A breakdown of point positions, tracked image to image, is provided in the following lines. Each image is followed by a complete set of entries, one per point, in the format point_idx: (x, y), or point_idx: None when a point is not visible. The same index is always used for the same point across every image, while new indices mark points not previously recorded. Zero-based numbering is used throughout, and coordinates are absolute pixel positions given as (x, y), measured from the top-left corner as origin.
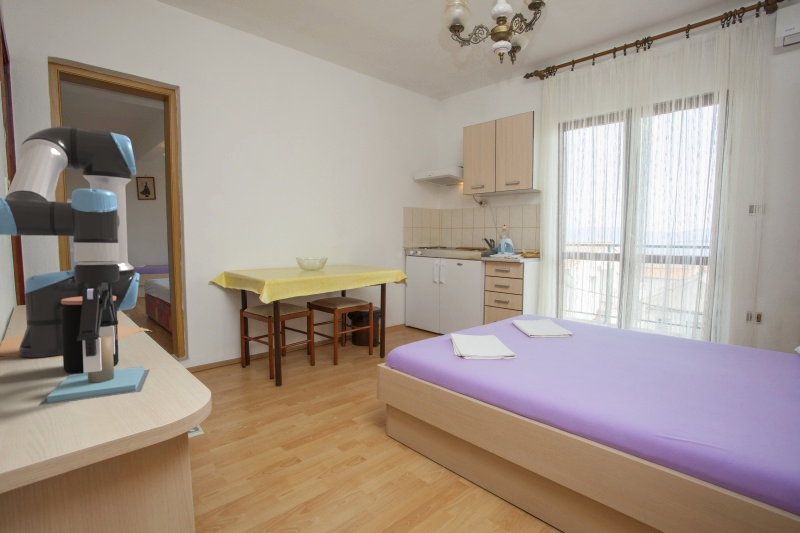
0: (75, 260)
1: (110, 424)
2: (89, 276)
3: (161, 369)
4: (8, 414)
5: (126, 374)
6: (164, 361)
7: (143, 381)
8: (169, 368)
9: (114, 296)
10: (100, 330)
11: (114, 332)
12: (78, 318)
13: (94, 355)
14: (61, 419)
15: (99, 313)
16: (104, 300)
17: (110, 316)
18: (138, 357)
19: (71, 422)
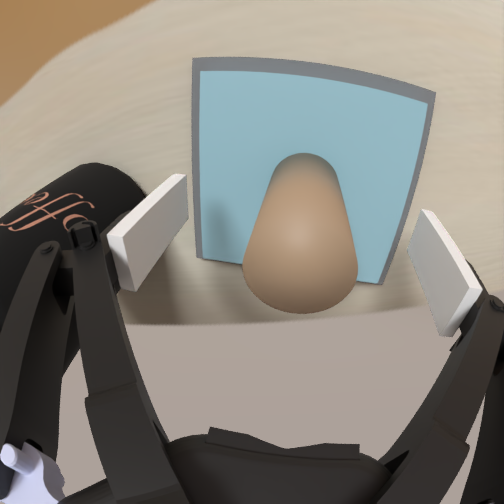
0: None
1: None
2: None
3: (173, 32)
4: (367, 311)
5: (285, 118)
6: (91, 47)
7: (339, 71)
8: (174, 11)
9: None
10: (141, 276)
11: (40, 212)
12: (66, 350)
13: (466, 261)
14: (466, 242)
15: (477, 407)
16: (438, 501)
17: (112, 293)
18: (40, 130)
19: (491, 228)
